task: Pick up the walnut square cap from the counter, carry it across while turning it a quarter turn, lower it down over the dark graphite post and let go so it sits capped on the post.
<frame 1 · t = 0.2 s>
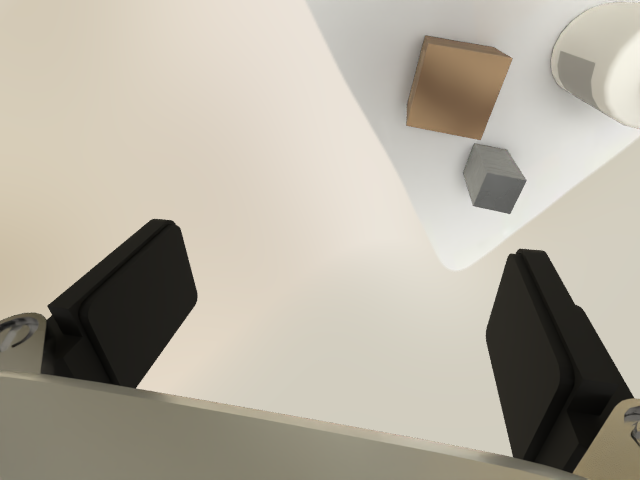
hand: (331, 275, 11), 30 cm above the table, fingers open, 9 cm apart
cap: (447, 77, 34), on the table
spray bottle: (594, 50, 31), on the table
post: (484, 161, 38), on the table
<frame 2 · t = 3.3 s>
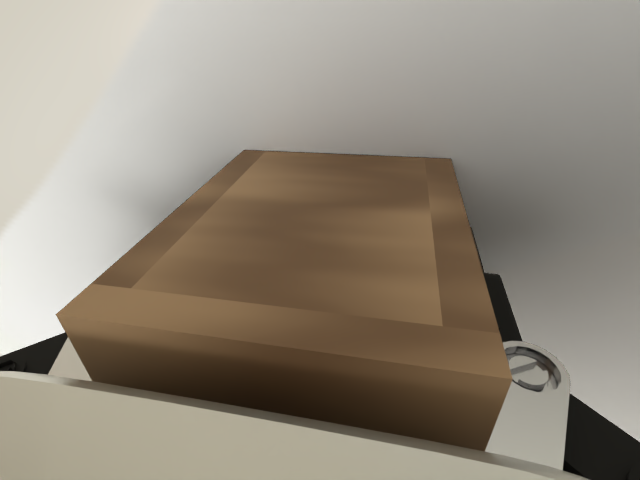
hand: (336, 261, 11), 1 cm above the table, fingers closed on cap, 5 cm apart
cap: (341, 242, 12), on the table, touching gripper
when the fingers open (3 cm above the table, at t = 10.7 s): cap stays where it is, resting on post.
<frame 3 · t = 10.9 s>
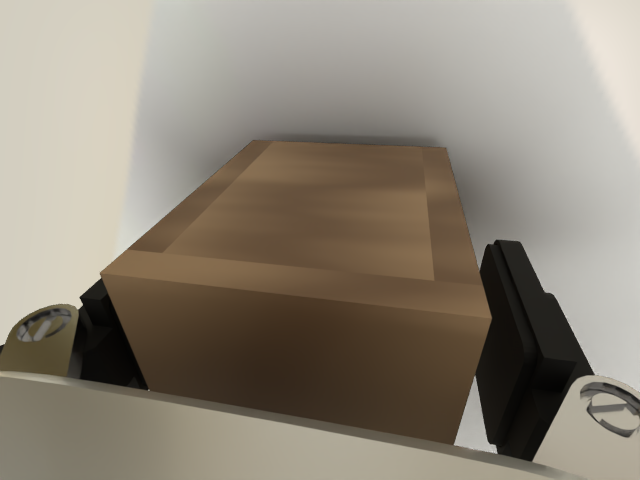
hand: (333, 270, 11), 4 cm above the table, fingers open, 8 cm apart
cap: (344, 227, 13), point 1 cm above the table, touching post
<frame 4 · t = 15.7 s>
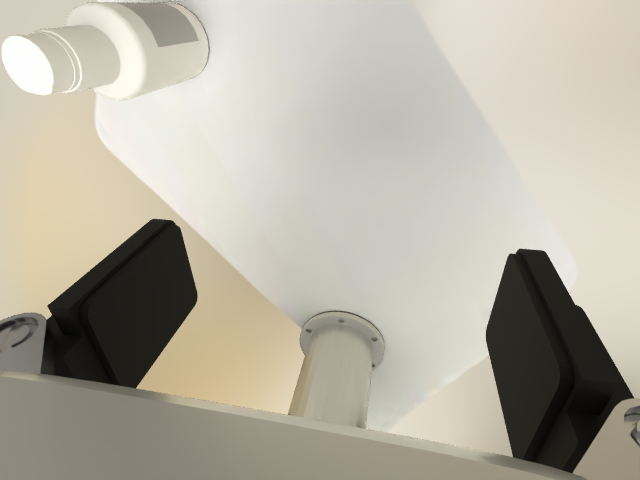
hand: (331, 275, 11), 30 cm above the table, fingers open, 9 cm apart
spray bottle: (179, 42, 38), on the table
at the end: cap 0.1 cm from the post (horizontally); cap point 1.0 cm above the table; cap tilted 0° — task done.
